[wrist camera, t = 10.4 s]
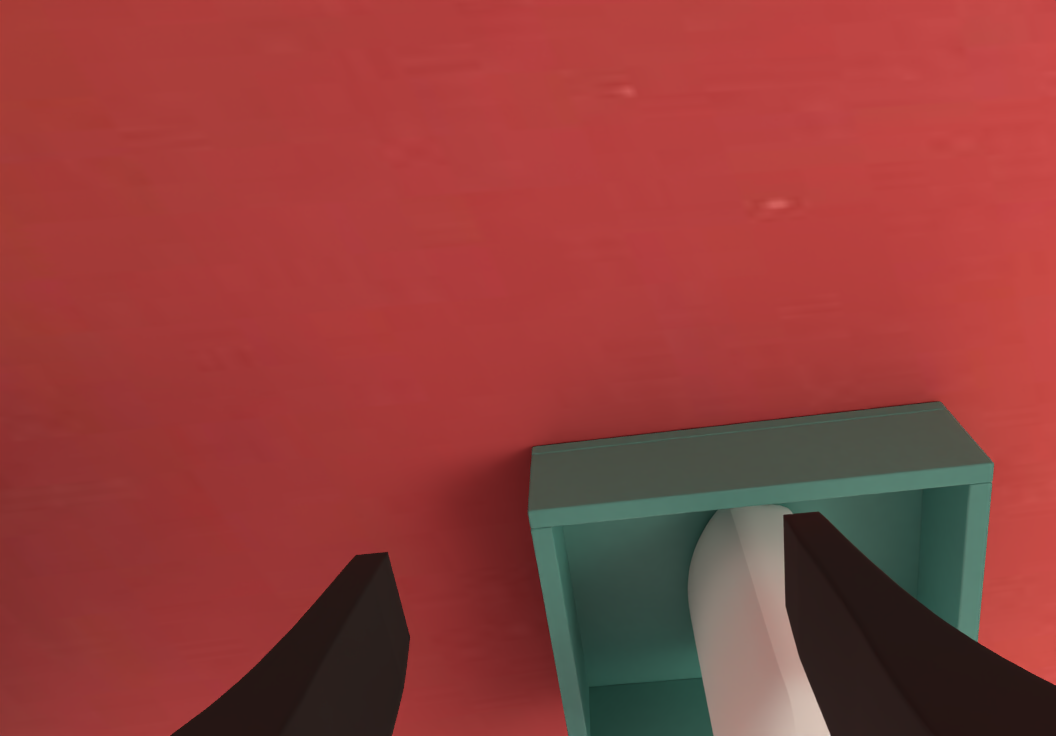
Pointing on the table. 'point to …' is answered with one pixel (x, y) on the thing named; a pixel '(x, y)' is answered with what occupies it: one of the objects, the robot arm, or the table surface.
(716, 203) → the table surface
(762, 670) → the eye dropper bottle
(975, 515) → the desk tidy
